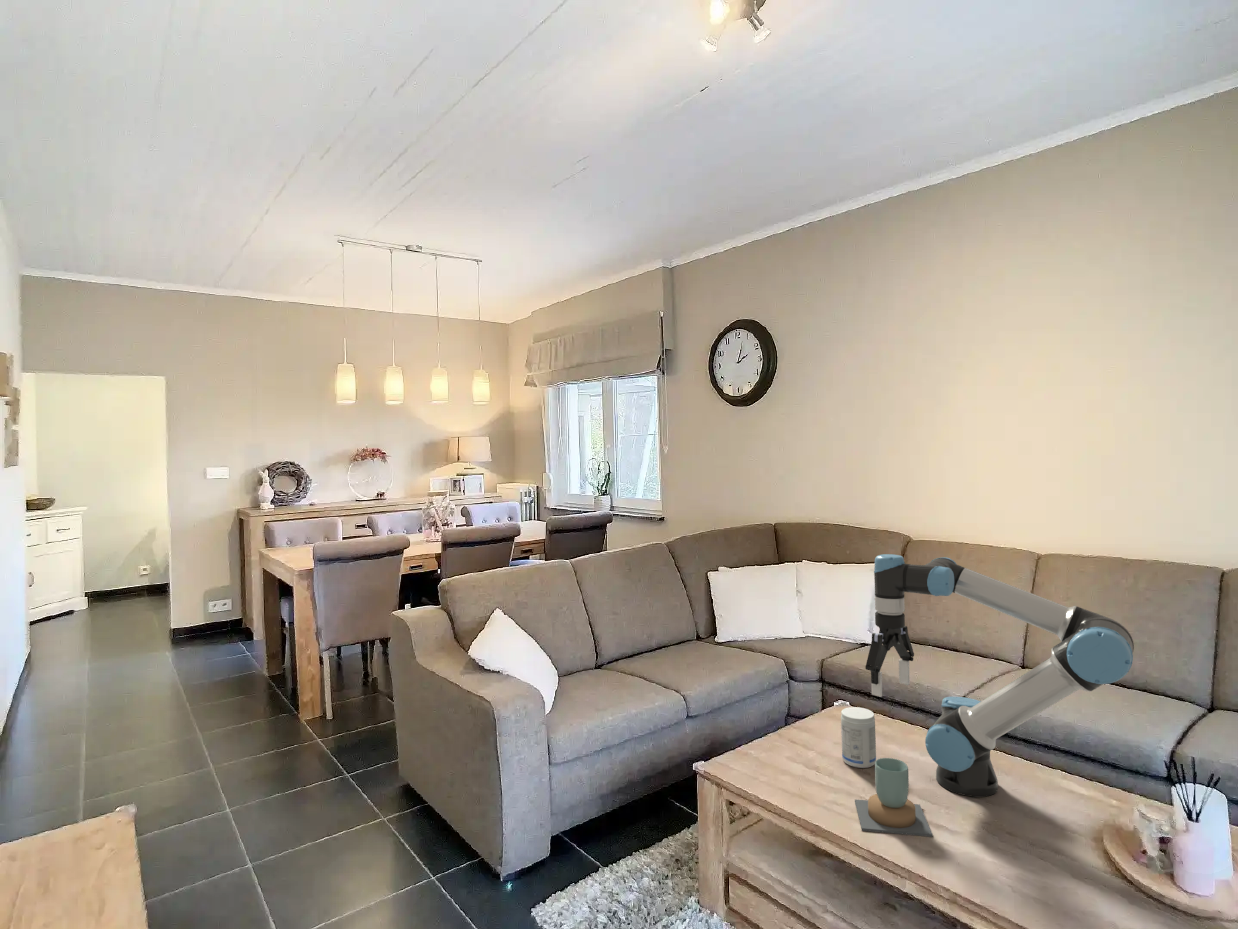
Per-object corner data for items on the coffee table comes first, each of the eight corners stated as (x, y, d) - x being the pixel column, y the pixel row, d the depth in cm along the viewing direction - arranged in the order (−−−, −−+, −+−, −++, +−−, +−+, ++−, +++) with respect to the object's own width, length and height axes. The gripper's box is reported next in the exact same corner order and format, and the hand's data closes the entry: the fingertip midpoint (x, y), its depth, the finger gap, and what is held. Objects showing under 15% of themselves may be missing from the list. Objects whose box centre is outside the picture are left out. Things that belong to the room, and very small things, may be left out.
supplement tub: (864, 753, 209) (863, 705, 209) (883, 767, 200) (882, 716, 200) (835, 757, 207) (834, 708, 207) (852, 771, 198) (852, 720, 198)
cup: (911, 813, 168) (911, 773, 168) (878, 811, 169) (877, 770, 169) (905, 797, 176) (904, 758, 175) (873, 795, 177) (872, 756, 177)
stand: (919, 806, 178) (919, 793, 178) (932, 837, 164) (932, 822, 164) (854, 801, 181) (854, 788, 181) (861, 830, 167) (861, 816, 167)
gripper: (901, 602, 198) (902, 676, 199) (850, 617, 183) (852, 696, 183) (926, 607, 192) (927, 682, 193) (876, 622, 177) (877, 704, 177)
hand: (890, 689), depth 188 cm, fingers open, 13 cm apart
